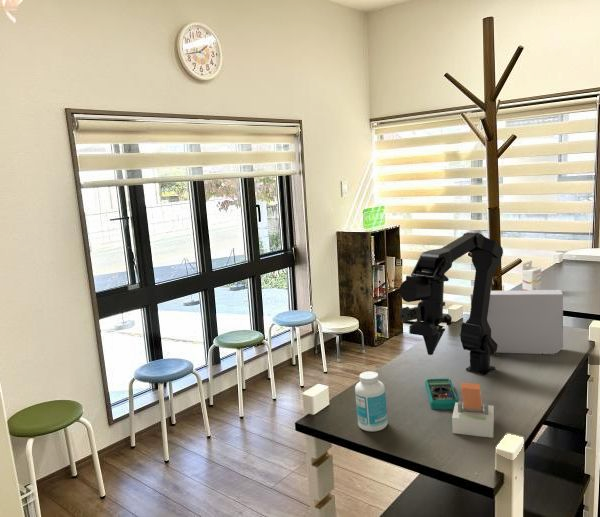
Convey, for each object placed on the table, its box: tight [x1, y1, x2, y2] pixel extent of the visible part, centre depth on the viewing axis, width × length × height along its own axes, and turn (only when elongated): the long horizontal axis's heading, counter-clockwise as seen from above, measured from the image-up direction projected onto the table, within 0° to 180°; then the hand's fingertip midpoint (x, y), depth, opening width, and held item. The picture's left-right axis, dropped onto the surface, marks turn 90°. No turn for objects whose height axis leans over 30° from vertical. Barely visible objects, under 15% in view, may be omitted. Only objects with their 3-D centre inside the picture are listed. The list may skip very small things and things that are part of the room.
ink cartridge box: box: [521, 260, 542, 291], centre depth 228 cm, size 9×5×15 cm, turn 130°
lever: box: [460, 382, 483, 412], centre depth 118 cm, size 2×4×11 cm
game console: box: [470, 289, 564, 355], centre depth 165 cm, size 6×27×20 cm, turn 71°
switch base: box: [451, 400, 495, 439], centre depth 121 cm, size 8×9×6 cm
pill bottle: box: [354, 370, 389, 432], centre depth 126 cm, size 8×7×14 cm
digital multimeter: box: [424, 378, 460, 411], centre depth 138 cm, size 7×15×3 cm, turn 172°
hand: (430, 354), depth 138 cm, fingers closed
